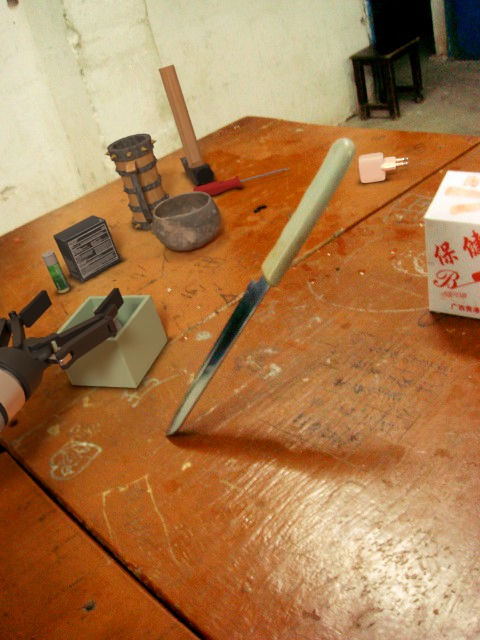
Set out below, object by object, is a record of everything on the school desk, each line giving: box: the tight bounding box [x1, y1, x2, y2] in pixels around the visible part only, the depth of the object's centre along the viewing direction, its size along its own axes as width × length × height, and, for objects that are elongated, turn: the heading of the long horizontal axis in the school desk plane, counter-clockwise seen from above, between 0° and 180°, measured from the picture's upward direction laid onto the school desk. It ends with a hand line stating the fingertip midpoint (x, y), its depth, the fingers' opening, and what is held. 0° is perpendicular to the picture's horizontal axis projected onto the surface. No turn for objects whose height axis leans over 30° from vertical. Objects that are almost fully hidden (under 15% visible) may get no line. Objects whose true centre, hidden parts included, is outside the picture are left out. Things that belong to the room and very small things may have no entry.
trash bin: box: [51, 294, 169, 389], centre depth 107 cm, size 13×13×10 cm
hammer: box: [158, 64, 215, 186], centre depth 170 cm, size 20×5×30 cm, turn 17°
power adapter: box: [357, 151, 410, 184], centre depth 146 cm, size 11×5×6 cm, turn 78°
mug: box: [103, 132, 170, 230], centre depth 152 cm, size 13×17×20 cm
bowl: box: [150, 191, 222, 252], centre depth 139 cm, size 14×15×10 cm
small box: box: [52, 214, 122, 283], centre depth 141 cm, size 11×6×10 cm, turn 130°
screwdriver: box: [192, 167, 291, 197], centre depth 162 cm, size 4×25×4 cm, turn 97°
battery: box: [41, 249, 71, 295], centre depth 135 cm, size 3×3×10 cm
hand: (82, 296), depth 100 cm, fingers open, 13 cm apart
